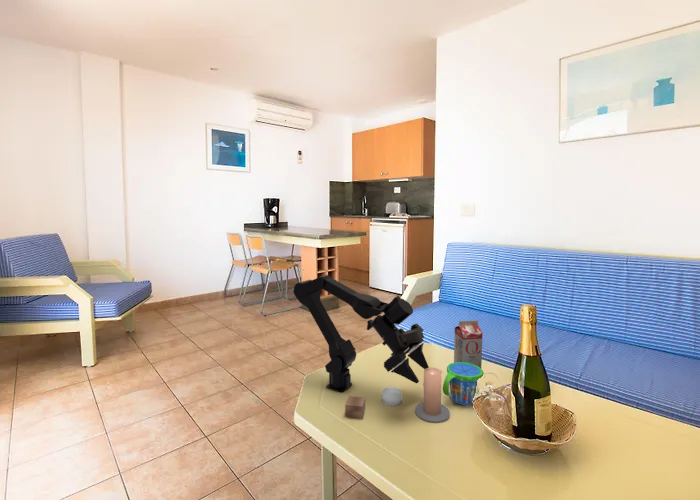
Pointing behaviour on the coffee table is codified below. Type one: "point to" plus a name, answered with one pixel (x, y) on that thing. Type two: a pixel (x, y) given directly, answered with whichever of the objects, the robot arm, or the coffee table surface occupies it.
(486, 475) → the coffee table surface
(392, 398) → the white dome
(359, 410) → the walnut block
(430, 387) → the pink rounded cylinder
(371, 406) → the coffee table surface
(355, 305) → the robot arm
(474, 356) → the juice carton
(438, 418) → the coaster
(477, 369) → the snack cup
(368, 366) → the coffee table surface
